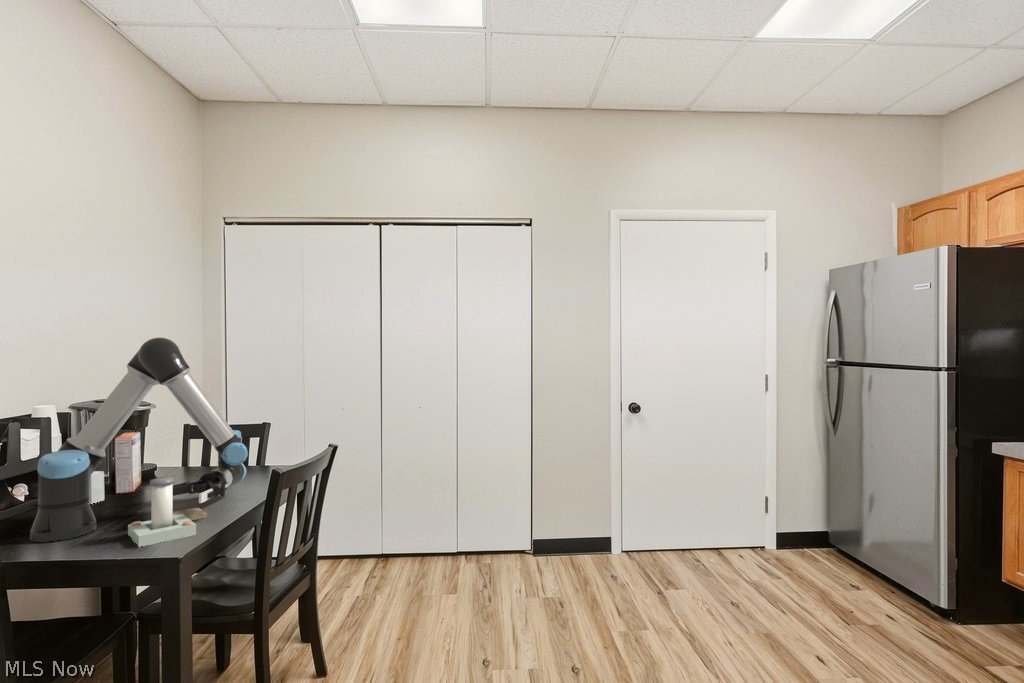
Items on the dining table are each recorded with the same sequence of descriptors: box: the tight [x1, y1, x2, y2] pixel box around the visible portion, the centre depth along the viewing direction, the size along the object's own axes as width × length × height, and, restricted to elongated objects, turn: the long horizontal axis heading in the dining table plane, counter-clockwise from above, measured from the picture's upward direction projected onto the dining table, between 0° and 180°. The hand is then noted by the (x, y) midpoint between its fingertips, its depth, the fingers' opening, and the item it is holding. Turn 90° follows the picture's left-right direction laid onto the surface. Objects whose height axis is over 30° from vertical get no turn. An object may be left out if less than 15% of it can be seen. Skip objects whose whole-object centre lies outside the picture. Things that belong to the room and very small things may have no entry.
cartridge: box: [149, 476, 175, 530], centre depth 160 cm, size 6×6×16 cm
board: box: [173, 507, 209, 521], centre depth 177 cm, size 11×11×1 cm
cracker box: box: [114, 431, 142, 494], centre depth 213 cm, size 14×6×21 cm, turn 23°
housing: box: [127, 514, 197, 548], centre depth 160 cm, size 14×14×4 cm
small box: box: [89, 470, 105, 505], centre depth 195 cm, size 8×6×10 cm
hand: (177, 498), depth 167 cm, fingers open, 13 cm apart
